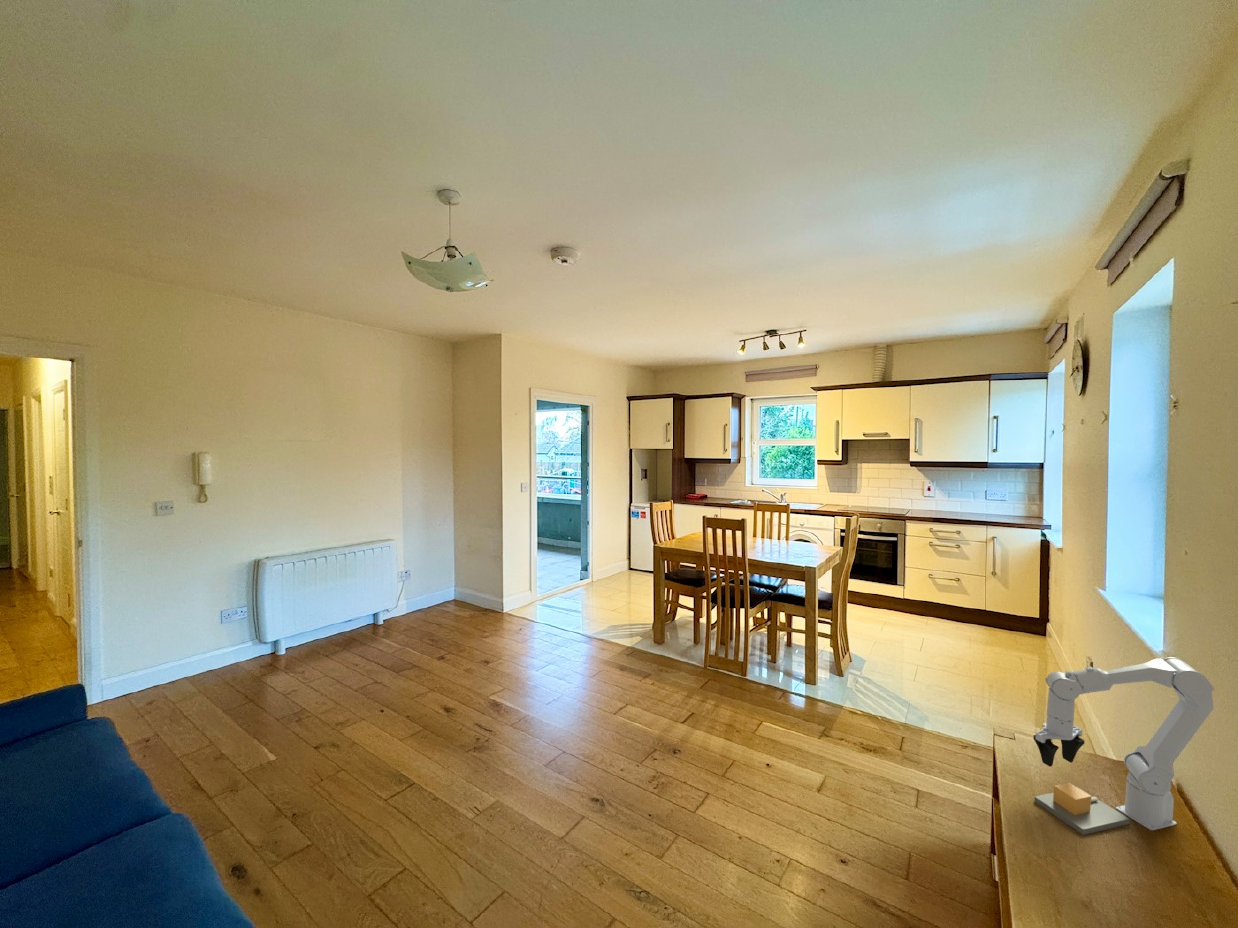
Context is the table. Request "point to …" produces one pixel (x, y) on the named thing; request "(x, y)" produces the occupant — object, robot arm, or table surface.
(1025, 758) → the table surface
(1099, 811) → the flat gray rectangular board
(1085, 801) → the light wooden brick
